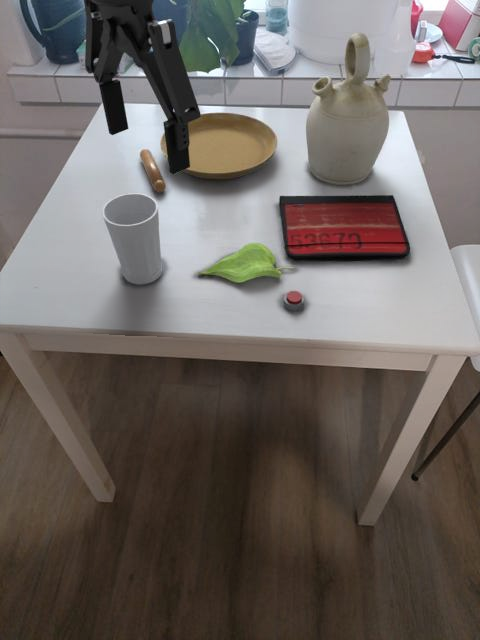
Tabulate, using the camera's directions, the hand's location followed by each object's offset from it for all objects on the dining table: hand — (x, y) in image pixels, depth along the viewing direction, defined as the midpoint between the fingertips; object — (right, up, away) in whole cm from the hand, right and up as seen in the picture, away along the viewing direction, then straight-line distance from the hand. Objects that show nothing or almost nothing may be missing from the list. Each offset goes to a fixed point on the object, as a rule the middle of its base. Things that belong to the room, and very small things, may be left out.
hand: (147, 149), depth 65 cm
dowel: (-5, +6, +33) cm, 34 cm away
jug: (+32, +8, +35) cm, 48 cm away
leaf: (+13, -14, +15) cm, 25 cm away
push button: (+20, -20, +10) cm, 30 cm away
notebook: (+30, -7, +21) cm, 37 cm away
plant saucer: (+8, +12, +39) cm, 41 cm away
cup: (-4, -15, +15) cm, 21 cm away
